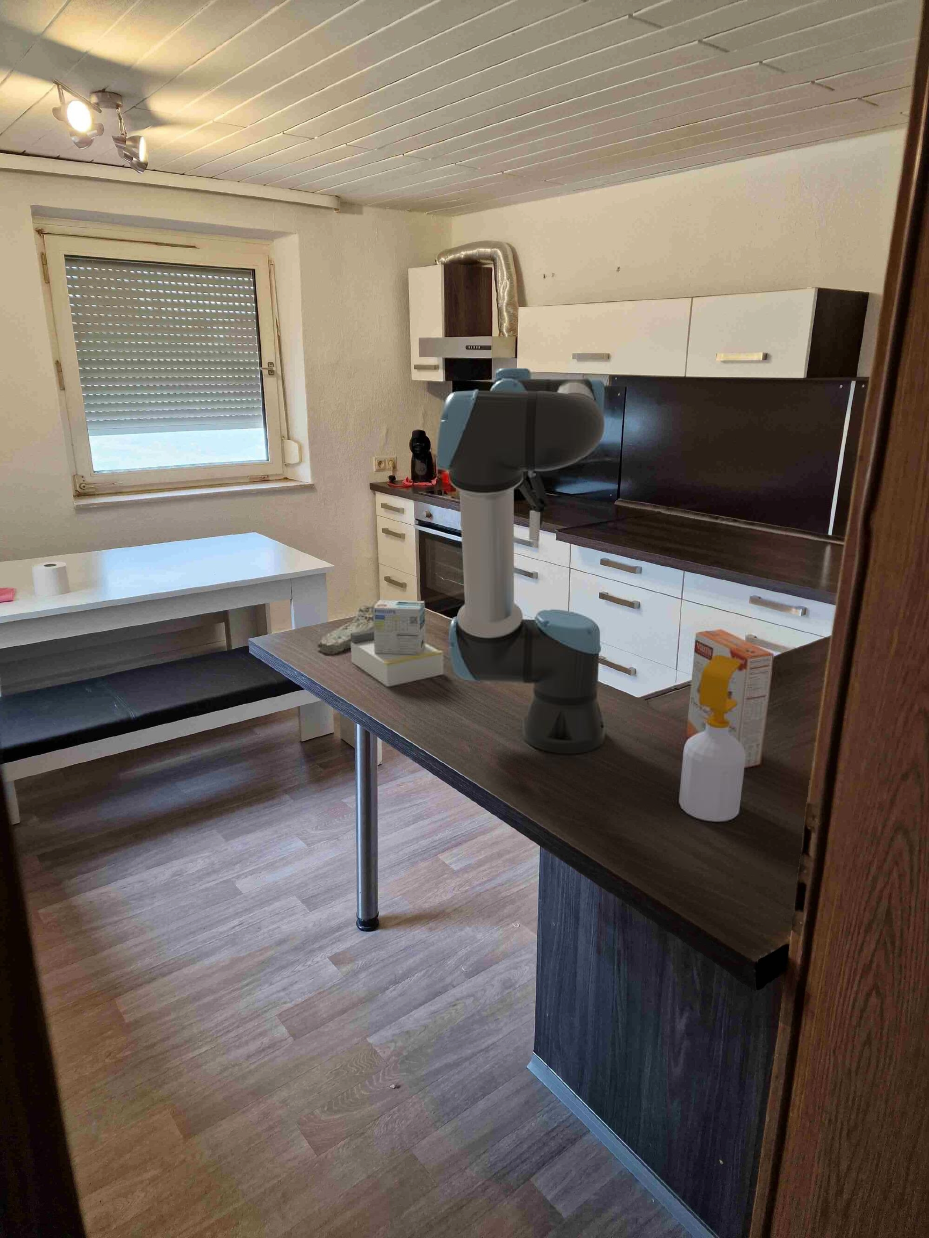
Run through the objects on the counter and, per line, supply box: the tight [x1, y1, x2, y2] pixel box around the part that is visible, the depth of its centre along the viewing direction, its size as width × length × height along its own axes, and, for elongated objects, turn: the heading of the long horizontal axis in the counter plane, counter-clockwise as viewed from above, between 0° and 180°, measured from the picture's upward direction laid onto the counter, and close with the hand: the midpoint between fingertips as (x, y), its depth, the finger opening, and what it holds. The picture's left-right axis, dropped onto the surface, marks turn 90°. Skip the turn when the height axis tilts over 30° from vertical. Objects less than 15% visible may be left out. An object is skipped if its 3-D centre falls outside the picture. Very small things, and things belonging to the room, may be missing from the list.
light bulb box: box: [373, 599, 426, 655], centre depth 179 cm, size 11×7×11 cm, turn 84°
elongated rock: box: [316, 604, 376, 655], centre depth 208 cm, size 35×5×10 cm
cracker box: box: [686, 628, 775, 769], centre depth 141 cm, size 14×6×21 cm, turn 21°
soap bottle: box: [678, 655, 746, 823], centre depth 122 cm, size 9×9×25 cm
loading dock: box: [350, 629, 444, 688], centre depth 183 cm, size 18×14×7 cm
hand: (509, 544), depth 176 cm, fingers open, 13 cm apart
